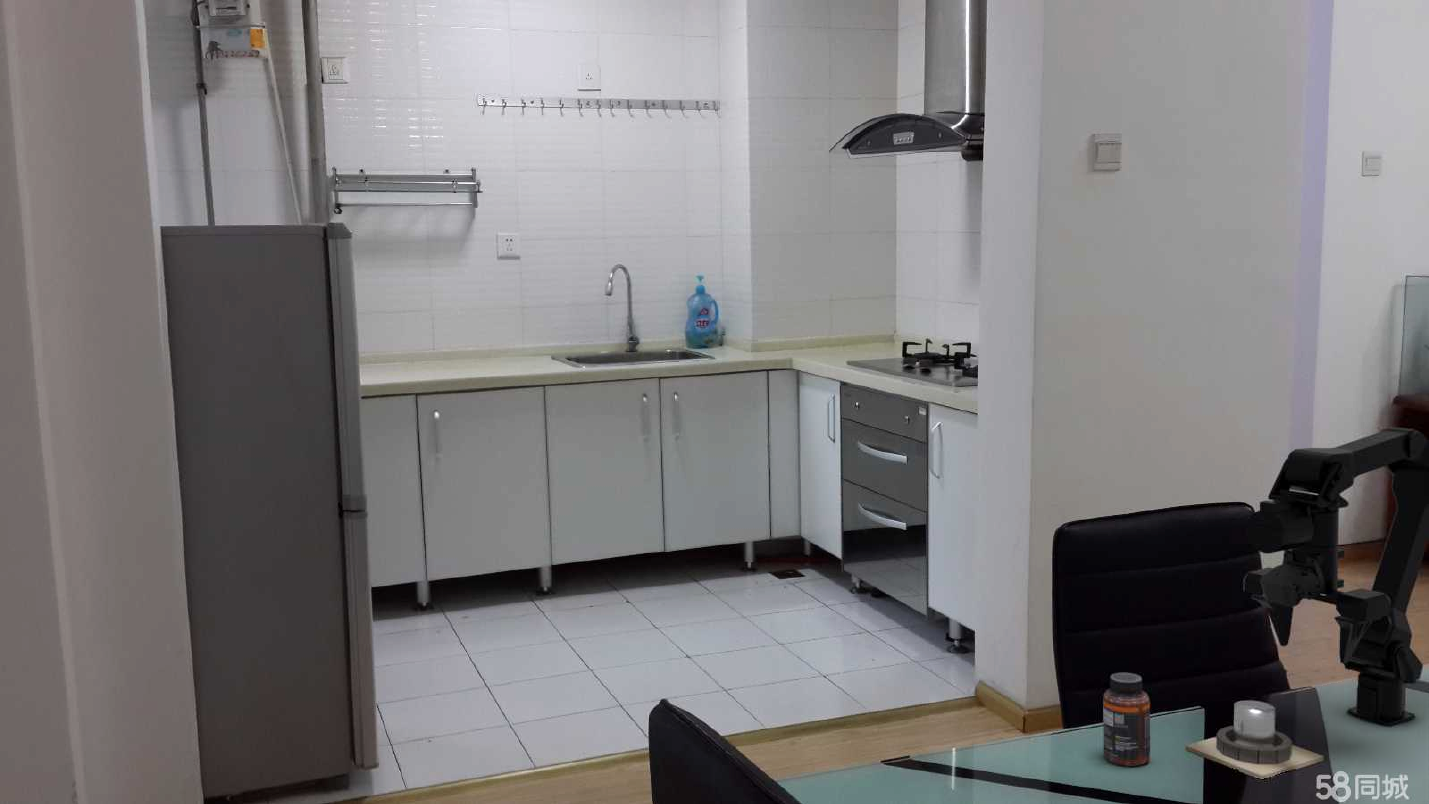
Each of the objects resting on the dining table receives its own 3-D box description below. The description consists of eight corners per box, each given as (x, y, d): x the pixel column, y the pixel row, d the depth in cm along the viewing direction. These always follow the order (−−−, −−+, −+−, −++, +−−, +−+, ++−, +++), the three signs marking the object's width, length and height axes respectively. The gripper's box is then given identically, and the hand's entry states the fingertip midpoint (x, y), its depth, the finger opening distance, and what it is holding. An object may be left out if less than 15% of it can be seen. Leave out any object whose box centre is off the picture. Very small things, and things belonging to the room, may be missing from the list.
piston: (1250, 741, 170) (1251, 698, 169) (1282, 753, 165) (1283, 709, 165) (1225, 748, 167) (1226, 704, 167) (1256, 760, 163) (1257, 715, 162)
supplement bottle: (1144, 750, 169) (1144, 669, 168) (1155, 768, 163) (1155, 684, 162) (1098, 750, 169) (1099, 669, 168) (1108, 767, 164) (1108, 684, 162)
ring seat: (1246, 732, 174) (1246, 715, 174) (1323, 760, 164) (1323, 743, 164) (1185, 749, 169) (1186, 732, 168) (1261, 780, 158) (1262, 762, 158)
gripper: (1216, 538, 173) (1216, 647, 175) (1339, 564, 157) (1337, 684, 159) (1270, 527, 178) (1269, 633, 180) (1394, 552, 162) (1392, 668, 164)
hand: (1313, 654), depth 171 cm, fingers open, 9 cm apart
